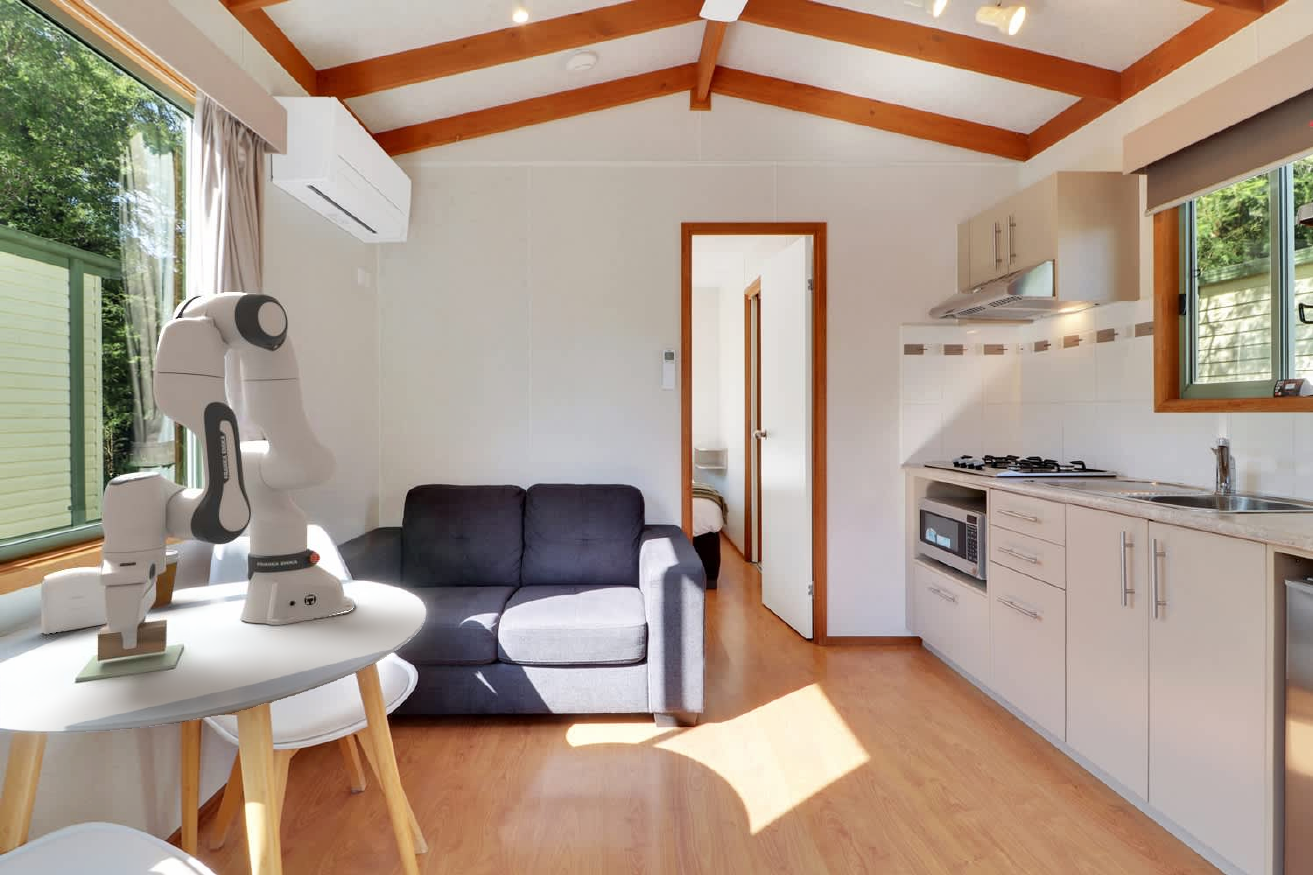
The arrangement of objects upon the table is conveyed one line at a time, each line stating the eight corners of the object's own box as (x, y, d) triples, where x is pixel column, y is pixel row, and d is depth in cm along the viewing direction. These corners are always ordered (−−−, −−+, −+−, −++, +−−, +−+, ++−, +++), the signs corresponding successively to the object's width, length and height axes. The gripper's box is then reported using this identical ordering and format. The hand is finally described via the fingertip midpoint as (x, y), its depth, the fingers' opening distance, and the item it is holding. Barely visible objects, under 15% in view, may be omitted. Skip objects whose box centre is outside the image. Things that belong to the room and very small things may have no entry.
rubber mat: (183, 646, 120) (183, 643, 120) (174, 667, 110) (174, 664, 110) (93, 658, 114) (93, 655, 114) (75, 681, 103) (75, 678, 103)
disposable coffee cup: (155, 598, 153) (155, 549, 153) (190, 600, 152) (190, 550, 152) (116, 609, 144) (117, 556, 144) (153, 611, 143) (153, 558, 143)
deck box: (101, 652, 111) (102, 627, 111) (166, 644, 116) (166, 619, 116) (97, 660, 107) (97, 634, 107) (164, 651, 112) (164, 626, 112)
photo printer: (42, 636, 125) (42, 574, 125) (39, 631, 128) (39, 570, 128) (110, 624, 133) (110, 566, 133) (106, 620, 136) (106, 563, 136)
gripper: (123, 555, 119) (123, 628, 119) (96, 578, 101) (96, 664, 102) (165, 552, 122) (165, 624, 122) (146, 574, 105) (146, 657, 105)
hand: (133, 642), depth 112 cm, fingers closed on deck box, 4 cm apart
